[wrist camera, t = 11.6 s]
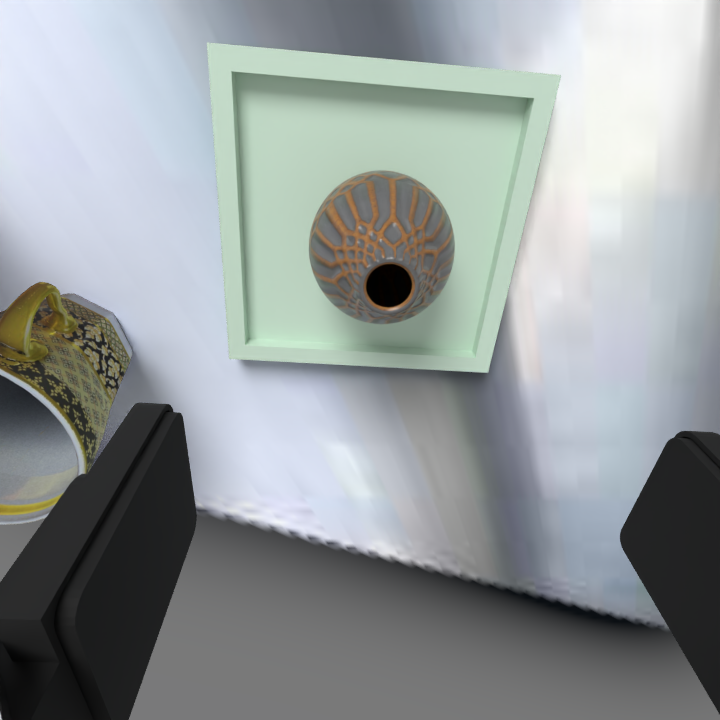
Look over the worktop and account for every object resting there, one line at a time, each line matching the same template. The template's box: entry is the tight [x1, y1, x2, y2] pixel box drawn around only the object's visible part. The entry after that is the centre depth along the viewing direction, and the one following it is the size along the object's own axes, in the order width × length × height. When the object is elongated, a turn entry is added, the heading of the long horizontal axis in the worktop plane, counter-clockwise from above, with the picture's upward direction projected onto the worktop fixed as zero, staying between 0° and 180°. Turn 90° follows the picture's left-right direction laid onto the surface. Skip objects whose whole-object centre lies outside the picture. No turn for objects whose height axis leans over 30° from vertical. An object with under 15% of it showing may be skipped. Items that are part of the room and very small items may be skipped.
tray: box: [207, 43, 561, 373], centre depth 26 cm, size 16×16×2 cm
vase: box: [309, 170, 455, 324], centre depth 22 cm, size 7×7×9 cm
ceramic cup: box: [0, 282, 133, 524], centre depth 24 cm, size 13×10×10 cm
